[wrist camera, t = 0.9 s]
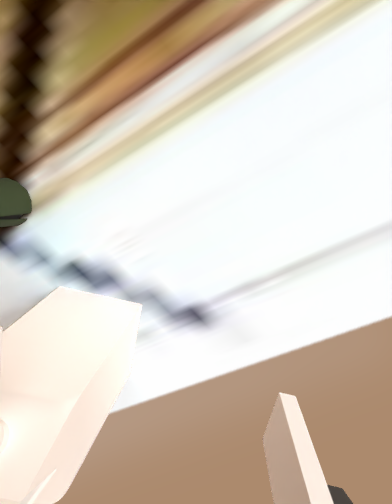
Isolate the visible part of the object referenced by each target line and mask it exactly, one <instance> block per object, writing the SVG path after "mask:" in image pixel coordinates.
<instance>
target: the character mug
mask: <svg viewBox="0 0 392 504" xmlns="http://www.w3.org/2000/svg"><path fill="white" fill-rule="evenodd" d="M27 213H31V199H30V196H29V194H28V192H27V190H26V189H25V188H24V187H22V186H21V185H20V184H19V183H18V182H16V181H14V180H11V179H9V178H0V227H6V226H16V225H20V224H22V223H23V222H25V221H26V220H27V219H19V218H20V217H21V216H22V215H23V214H27Z"/></svg>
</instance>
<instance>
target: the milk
mask: <svg viewBox="0 0 392 504" xmlns="http://www.w3.org/2000/svg"><path fill="white" fill-rule="evenodd" d="M141 309H142V304H139V303H134V302H130V301H125V300H121V299H116V298H111V297H107V296H102V295H98V294H93V293H88V292H84V291H79V290H75V289H70V288H66V287H61V286H59V287H58V288H57V289H56V290H54V291H53V292H52V293H51V294H49V295H48V296H47V297H46V298H44V299H43V300H42V301H41V302H39V303H38V304H37V305H36V306H34V307H33V308H32V309H31V310H30V311H28V312H27V313H26V314H25V315H23V316H22V317H21V318H20V319H18V320H17V321H16V322H15V323H13V324H12V325H11V326H10V327H8V328H7V329H6V330H5V331H4V332H3V334H2V354H1V373H0V504H53V503H55V502H57V501H58V500H60V499H61V498H62V497H63V495H64V494H65V493H66V492H67V490H68V488H69V487H70V485H71V483H72V481H73V479H74V477H75V476H76V474H77V472H78V470H79V468H80V466H81V465H82V462H83V461H84V459H85V457H86V455H87V453H88V451H89V450H90V448H91V446H92V444H93V442H94V440H95V438H96V437H97V435H98V433H99V431H100V429H101V427H102V425H103V423H104V422H105V420H106V418H107V416H108V414H109V412H110V410H111V409H112V407H113V405H114V403H115V401H116V399H117V397H118V395H119V394H120V392H121V390H122V388H123V386H124V384H125V382H126V381H127V379H128V377H129V375H130V373H131V367H132V361H133V355H134V349H135V344H136V338H137V332H138V326H139V320H140V315H141Z"/></svg>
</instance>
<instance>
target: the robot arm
mask: <svg viewBox="0 0 392 504" xmlns="http://www.w3.org/2000/svg"><path fill="white" fill-rule="evenodd" d="M2 334H3V327H1V326H0V373H1V354H2ZM263 444H264V449H265V455H266V461H267V466H268V472H269V478H270V484H271V490H272V495H273V501H274V504H353V503H352V501H351V500H350V499H349V497H348V496H347V494H346V493H345V492H344V490H343V489H342V488H338V487H334V486H330V485H327V484H326V481H325V478H324V475H323V472H322V469H321V467H320V464H319V461H318V458H317V455H316V453H315V450H314V447H313V444H312V441H311V439H310V436H309V433H308V430H307V427H306V425H305V422H304V419H303V416H302V413H301V410H300V408H299V405H298V402H297V399H296V396H293V395H288V394H284V393H280V392H279V394H278V397H277V400H276V403H275V405H274V408H273V411H272V414H271V417H270V420H269V423H268V425H267V428H266V431H265V434H264V436H263Z"/></svg>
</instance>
